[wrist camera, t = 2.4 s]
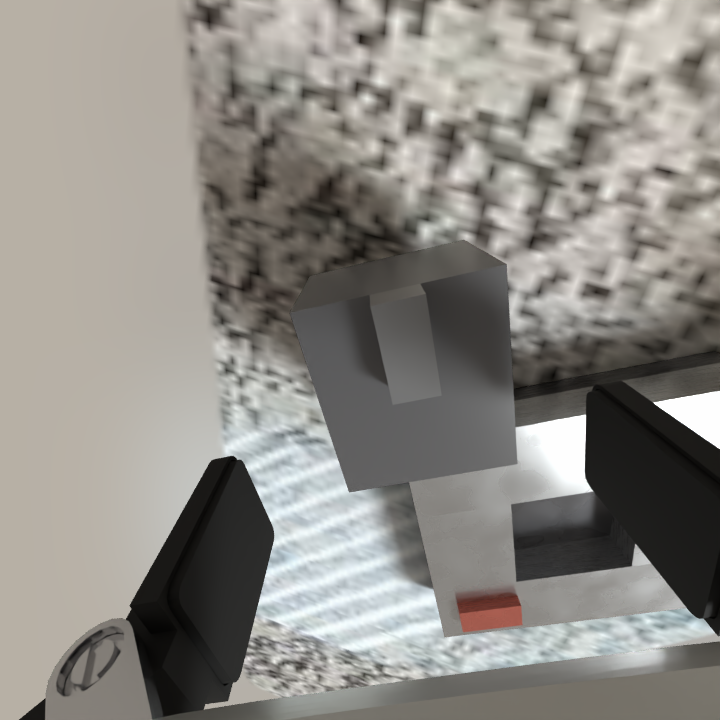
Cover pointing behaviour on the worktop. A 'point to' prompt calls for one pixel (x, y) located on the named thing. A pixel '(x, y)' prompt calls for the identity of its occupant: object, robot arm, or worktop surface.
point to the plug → (412, 364)
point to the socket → (552, 513)
